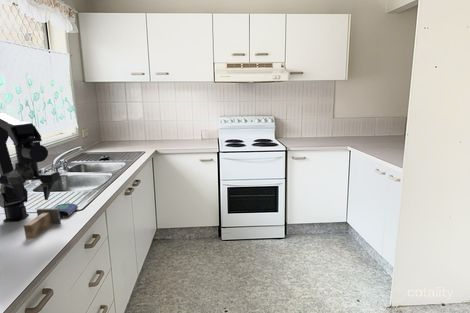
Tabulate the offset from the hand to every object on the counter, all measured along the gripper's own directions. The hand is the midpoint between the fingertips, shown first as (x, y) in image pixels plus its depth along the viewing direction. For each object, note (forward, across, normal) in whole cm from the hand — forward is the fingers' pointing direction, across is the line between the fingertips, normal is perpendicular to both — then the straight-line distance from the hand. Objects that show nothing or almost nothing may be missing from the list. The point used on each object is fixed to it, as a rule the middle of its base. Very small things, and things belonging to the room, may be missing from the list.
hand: (34, 200), depth 115 cm
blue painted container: (+10, 0, +11) cm, 15 cm away
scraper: (+12, +1, 0) cm, 12 cm away
